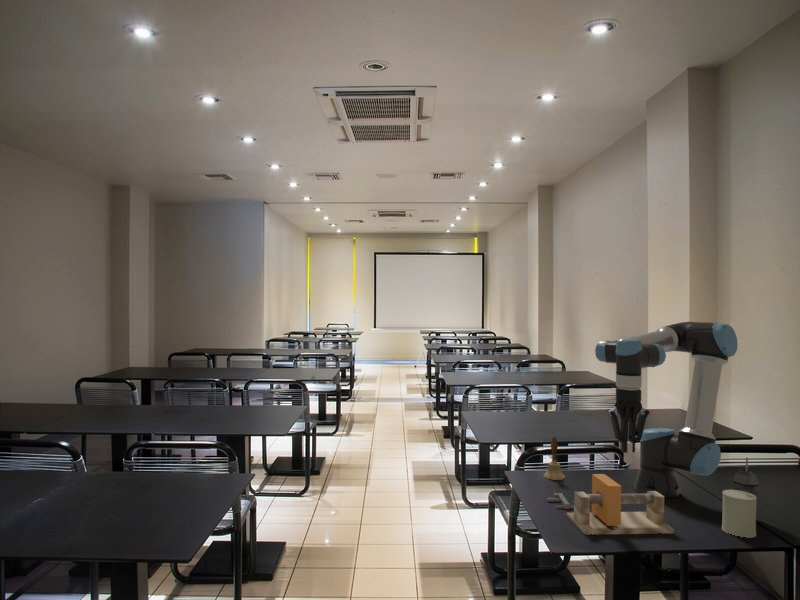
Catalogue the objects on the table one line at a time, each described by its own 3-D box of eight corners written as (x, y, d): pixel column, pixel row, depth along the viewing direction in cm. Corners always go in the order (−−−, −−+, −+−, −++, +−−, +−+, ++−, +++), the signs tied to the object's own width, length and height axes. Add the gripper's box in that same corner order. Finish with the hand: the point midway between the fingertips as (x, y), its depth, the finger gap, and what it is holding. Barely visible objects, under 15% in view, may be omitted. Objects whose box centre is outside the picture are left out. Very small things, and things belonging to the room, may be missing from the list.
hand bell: (544, 479, 223) (545, 439, 223) (542, 473, 231) (543, 434, 231) (566, 481, 222) (566, 440, 222) (563, 474, 230) (564, 435, 230)
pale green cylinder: (756, 540, 169) (757, 500, 169) (720, 533, 173) (721, 494, 173) (756, 530, 176) (757, 491, 176) (722, 523, 181) (722, 486, 181)
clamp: (545, 492, 203) (573, 493, 202) (544, 498, 203) (573, 499, 202) (554, 507, 188) (585, 508, 187) (554, 514, 188) (585, 515, 187)
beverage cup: (754, 515, 189) (756, 455, 189) (760, 523, 182) (762, 460, 182) (730, 512, 191) (731, 452, 191) (735, 519, 184) (736, 458, 184)
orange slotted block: (603, 510, 185) (604, 474, 185) (620, 525, 173) (621, 486, 173) (591, 510, 185) (592, 474, 185) (607, 525, 173) (608, 486, 173)
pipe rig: (648, 514, 188) (649, 485, 188) (674, 533, 173) (674, 501, 173) (566, 515, 186) (566, 486, 186) (584, 534, 171) (585, 502, 171)
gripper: (642, 385, 184) (641, 458, 184) (603, 386, 183) (602, 459, 183) (654, 389, 176) (654, 465, 176) (613, 390, 175) (613, 466, 175)
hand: (628, 462), depth 180 cm, fingers closed
